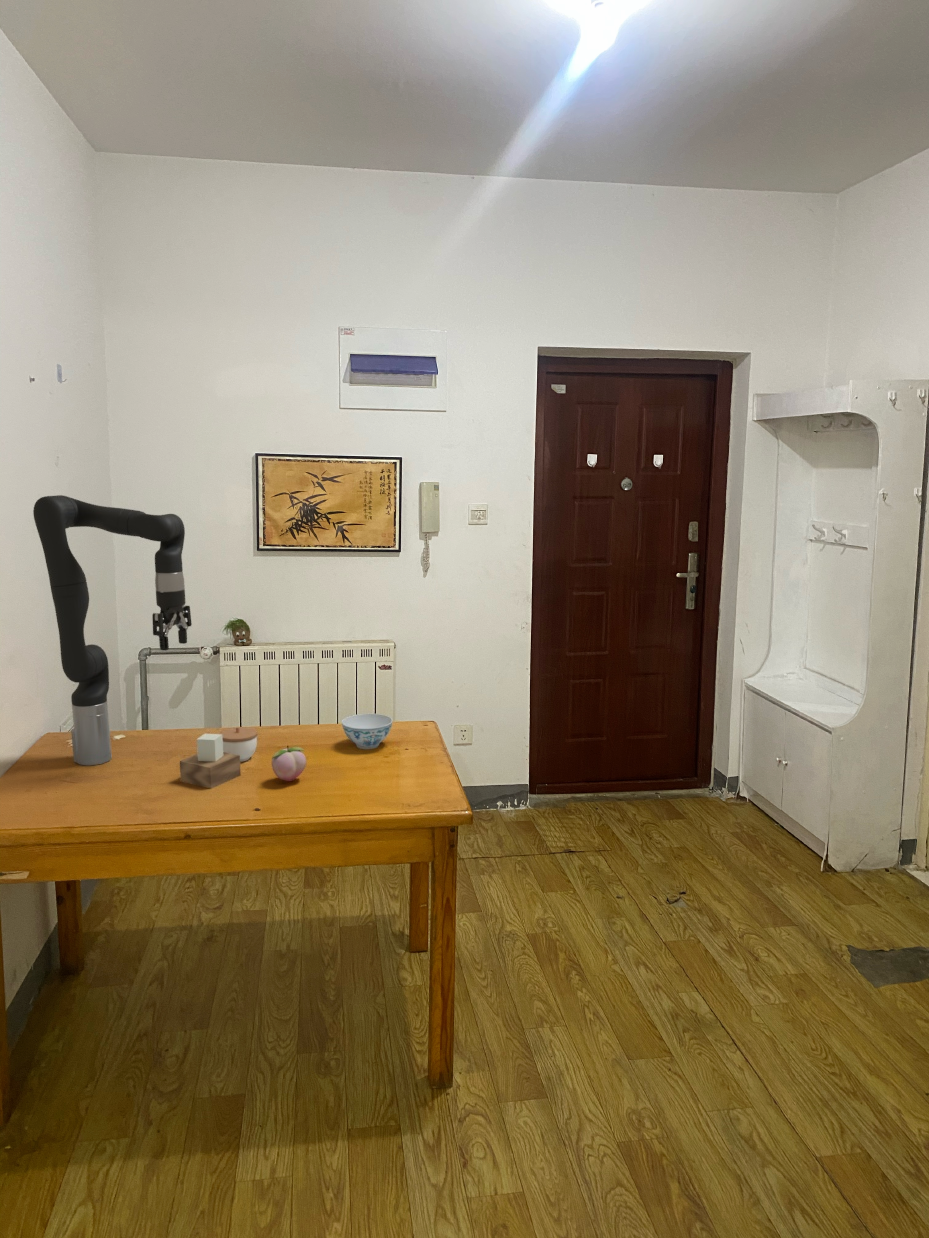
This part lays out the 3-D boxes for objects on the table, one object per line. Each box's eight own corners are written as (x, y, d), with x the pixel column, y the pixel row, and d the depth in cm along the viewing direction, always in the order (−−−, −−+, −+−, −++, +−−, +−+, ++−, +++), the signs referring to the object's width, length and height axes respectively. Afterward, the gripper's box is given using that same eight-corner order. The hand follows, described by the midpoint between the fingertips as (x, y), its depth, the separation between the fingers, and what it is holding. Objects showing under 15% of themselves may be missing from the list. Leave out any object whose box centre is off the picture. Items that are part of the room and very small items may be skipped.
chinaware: (390, 754, 260) (389, 728, 258) (338, 753, 260) (338, 728, 258) (395, 737, 274) (394, 713, 273) (346, 737, 275) (345, 713, 273)
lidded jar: (248, 766, 250) (246, 734, 248) (213, 763, 252) (211, 731, 250) (264, 753, 260) (263, 722, 258) (230, 751, 262) (228, 720, 261)
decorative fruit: (294, 772, 245) (293, 737, 243) (312, 780, 239) (310, 744, 237) (265, 781, 238) (263, 745, 236) (282, 789, 232) (280, 753, 231)
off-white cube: (197, 760, 237) (196, 739, 236) (206, 754, 242) (204, 733, 241) (215, 761, 237) (214, 739, 236) (223, 755, 242) (222, 734, 241)
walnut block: (180, 782, 239) (179, 760, 238) (210, 769, 248) (209, 748, 247) (211, 789, 233) (210, 767, 232) (240, 776, 243) (239, 755, 242)
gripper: (173, 584, 250) (177, 640, 253) (141, 591, 236) (146, 651, 239) (197, 585, 247) (200, 642, 250) (166, 592, 234) (170, 653, 237)
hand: (173, 646), depth 245 cm, fingers open, 8 cm apart
